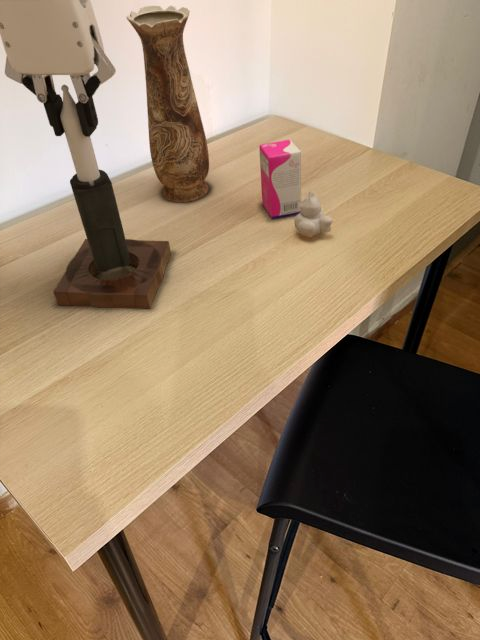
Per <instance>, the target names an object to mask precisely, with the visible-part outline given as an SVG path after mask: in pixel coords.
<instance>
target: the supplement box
mask: <svg viewBox="0 0 480 640" xmlns="http://www.w3.org/2000/svg"><path fill="white" fill-rule="evenodd" d="M258 146H259V166H260V181H261V182H260V184H261V187H260V188H261V204H262V207H263V208H264V210H265V212H266V213H267V215H268V216H269V218H270V220H272V221H273V220H277V219H282V218H287V217H292V216H297V215H298V214H299V213H300V212H301V211H300V209H301V208H300V207H299V205H300V204H301V203H302V151H301V150H300V148H298V147H297V146H296V145H295V143H293V141H292V140H291V139H284V140H281V141H274V142H268V143H262V144H259V145H258Z"/></svg>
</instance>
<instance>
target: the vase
mask: <svg viewBox="0 0 480 640" xmlns="http://www.w3.org/2000/svg"><path fill="white" fill-rule="evenodd" d="M189 16H190V10H189V8H188V7H184V6H182V7H180V8H179V9H177V8H176V6H174V5H169V6H167V7H166V8H165V9H163V7H162V6H161V5H146V6H143V7H140V8H139V10H138V13H137V12H135V11H130V14H129V15H127V16H125V17H126V20H127V21H128V22H129V24H130V25H131V26H132V28H133V29H134V31H135V32H136V33H137V36H138V37H139V40H140V43H141V46H142V53H143V63H144V65H143V67H144V74H145V76H144V77H145V92H146V106H147V112H146V113H147V127H148V128H147V129H148V143H149V153H150V159H151V163H152V168H153V171H154V173H155V176H156V178H157V180H158V181H159V182H160V183H161V184H162V185H163V188H162V195H163V197H164V198H165V199H166V200H169V201H171V202H174V203H175V202H176V203H188V202H192V201H196V200H198V199H200V198H202V197H204V196H205V195H206V194H207V193H208V191H209V186H208V184H207V182H206V181H205V180H206V179H207V177H208V175H209V172H210V155H209V147H208V142H207V141H208V140H207V137H206V133H205V132H206V131H205V129H204V123H203V121H202V115H201V112H200V109H199V104H198V100H197V97H196V91H195V88H194V84H193V80H192V76H191V71H190V67H189V63H188V60H187V59H188V58H187V55H186V51H185V50H186V49H185V44H184V31H185V27H186V25H187V22H188V19H189Z"/></svg>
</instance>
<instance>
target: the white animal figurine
mask: <svg viewBox="0 0 480 640" xmlns="http://www.w3.org/2000/svg"><path fill="white" fill-rule="evenodd" d="M299 207H300V208H301V209H300V211H301V212H300V213H299V214H298V215H295V217H294V219H293V223H294V228H295V229H296V231H297V232H298V234H299V235H301V236H304V237H307V238H312V237H315V236H317V235H319V234H320V233H321V232H322V233H329V232H331V230H332V228H331V225H332V223H333V220H334V219H333V217H332V216H330V215H327V214H326V215H324V212H323V211H322V203H321V200H320V199H319V198H318V196H317V195H316V194H315V193H314V192H313V193H311V190H310V189H309V190H308V195H306V197H304V199H303V201H301V204H300V205H299Z"/></svg>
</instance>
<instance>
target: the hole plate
mask: <svg viewBox="0 0 480 640" xmlns="http://www.w3.org/2000/svg"><path fill="white" fill-rule="evenodd" d="M125 239H126V243H127V248H128V252H129V256H130V260H131V262H130V264H129V265H131V266H134V267H136V269H135V270H133V272H131V273H129V274H128V275H126V276H123V277H120V278H116V279H99V278H97V277H96V276H97V274H98V273H99V272H100V271H99V270H97V268H96V265H95V262H94V260H93V257H92V253H91V250H90V247H89V243H88V240H87V238H85V239H84V240H83V242H82V243H81V245H80V246H79V248H78V250H77V251H76V253H75V255H74V256H73V258H72V259H71V260H70V261H69V262H68V264H67V266H66V268H65V271H64V273H63V275H62V276H61V278H60V280H59V281H58V283H57V284H56V286H55V288H54V289H53V291H52V293H53V295H54V299H55V300H56V304H57V305H58V306H79V307H93V308H102V309H109V308H110V309H111V308H127V309H128V308H131V309H132V308H133V309H151V307H152V305H153V302H154V299H155V297H156V294H157V292H158V291H157V290H158V289H159V286H160V285H161V284H162V282H163V281H164V280H163V279H164V276H165V271H166V268H167V265H168V263H169V260H170V258H171V255H172V252H171V245H170V240H145V239H144V240H143V239H142V240H139V239H131V238H125Z"/></svg>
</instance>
